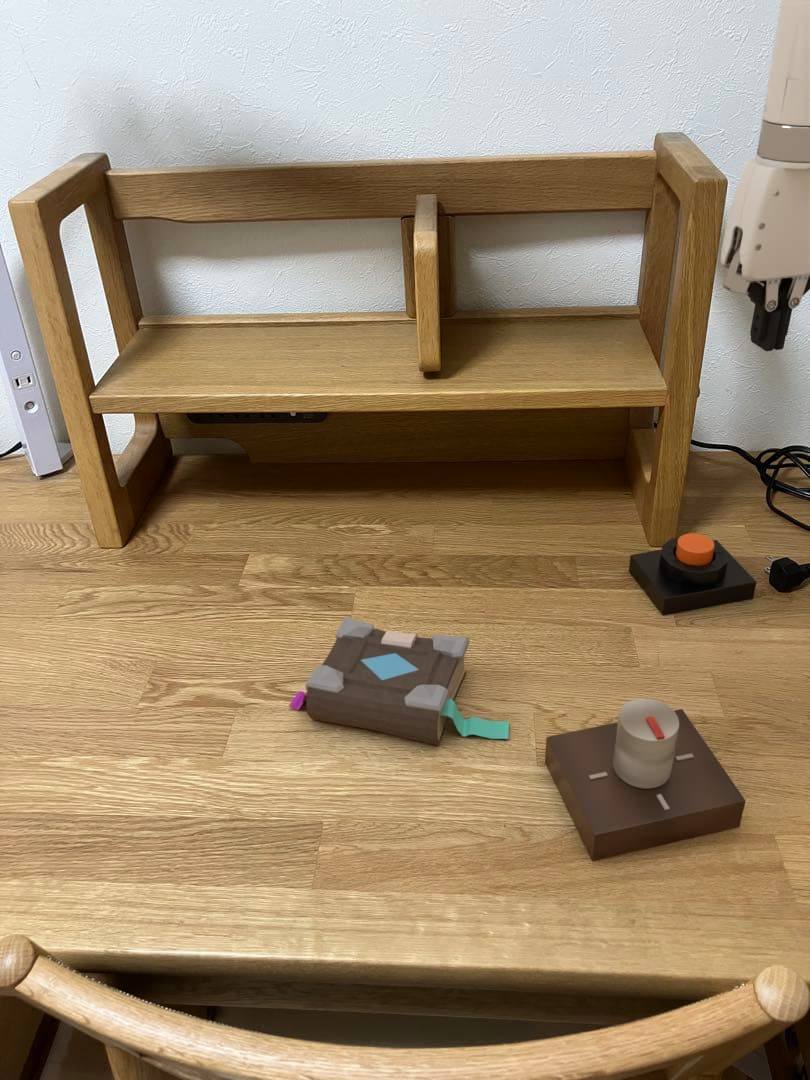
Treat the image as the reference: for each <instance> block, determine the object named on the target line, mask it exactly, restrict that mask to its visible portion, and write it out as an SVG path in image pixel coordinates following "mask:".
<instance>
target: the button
mask: <svg viewBox="0 0 810 1080" xmlns="http://www.w3.org/2000/svg"><path fill="white" fill-rule="evenodd" d="M679 537H680V538H679V539H678V542H677V549H676V557H677V559H678V560H679V561H682V562H684V563H686V564H689V565H697V566H701V565H706V564H709V563H710V562H711V561H712V557H713V552H714V546H715V545H714V542H713V539H711V538H710V537H708V536H707V535H705V534H701V533H695V532H693V533H684V534H682V535H681V536H679Z"/></svg>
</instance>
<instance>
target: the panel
mask: <svg viewBox="0 0 810 1080" xmlns="http://www.w3.org/2000/svg"><path fill="white" fill-rule="evenodd" d="M673 711H674V712H675V713H676V714H677V716H678V719H679V730H678V736H677V741H676V747H675V753H674V758H673V764H672V770H671V775H670V777H669V779H668V780H667V781H666V782H665V783H664V784H663V785H661V786H659V787H656V788H650V789H644V788H638V787H634V786H632V785H629V784H627V783H626V782H624V781H623V780H622V779H621V778H620V777H619V776H618V775H617V774H616V772H615V770H614V767H613V758H614V750H615V742H616V734H617V725H618V721H617V722H612V723H608V724H603V725H598V726H593V727H588V728H583V729H578V730H573V731H570V732H569V731H568V732H564V733H559V734H554V735H549V736H546V737H545V755H544V764H545V766H546V768H547V770H548V772H549V774H550V777H551V778H552V781H553V782H554V784H555V786H556V787H555V788H556V789H557V791H558V793H559V795H560V797H561V799H562V801H563V803H564V805H565V808H566V810H567V812H568V814H569V816H570V819H571V820H572V822H573V824H574V827H575V828H576V830H577V833H578V835H579V837H580V840H581V841H582V843H583V845H584V847H585V850H586V852H587V854H588V856H589V858H590V860H591V861H592V862H593V861H594V862H595V861H598V860H602V859H603V860H604V859H607V858H611V857H615V856H619V855H624V854H628V853H633V852H637V851H641V850H645V849H650V848H654V847H658V846H663V845H668V844H671V843H675V842H680V841H684V840H689V839H693V838H697V837H702V836H705V835H710V834H714V833H718V832H723V831H727V830H731V829H736V828H740V826H741V823H742V818H743V813H744V810H745V806H746V802H747V800H746V798H745V797H744V796H743V794H742V793H741V791H740V790H739V789H738V787H737V786H736V785H735V783H734V781H733V780H732V778H731V777H730V775H729V774H728V773H727V772H726V770H725V768H724V767H723V766H722V764H721V763H720V761H719V760H718V759H717V757H716V756H715V754H714V752H713V751H712V750H711V748H710V747H709V746H708V744H707V743H706V741H705V739H704V738H703V737H702V735H701V734H700V732H699V731H698V730H697V728H696V726H695V725H694V723H693V722H692V721H691V720H690V718H689V717H688V715H687V714H686V712H685V711H684V709H683V708H680V709H675V710H673Z"/></svg>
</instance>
